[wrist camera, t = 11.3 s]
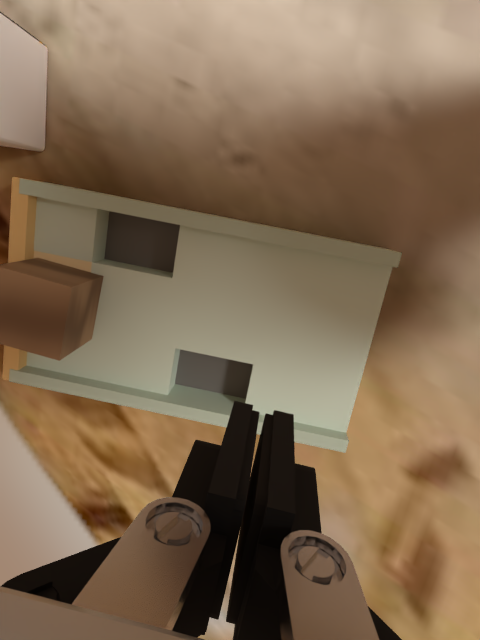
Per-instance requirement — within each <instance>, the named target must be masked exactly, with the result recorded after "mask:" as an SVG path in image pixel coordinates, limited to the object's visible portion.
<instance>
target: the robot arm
mask: <svg viewBox="0 0 480 640" xmlns="http://www.w3.org/2000/svg"><path fill="white" fill-rule="evenodd" d="M252 409H253V405H251V404H247V403H242V402H238V401H234V404H233V407H232V411H231V414H230V418H229V421H228V424H227V428H226V431H225V435H224V438H223V442H222V445H221V446H220V445H216V444H212V443H208V442H204V441H199V440H195V442H194V445H193V447H192V450H191V452H190V455H189V457H188V459H187V462H186V464H185V467H184V469H183V472H182V474H181V476H180V479H179V481H178V484H177V486H176V489H175V491H174V494H173V496H172V497H166V498H162V499H157V500H155V501H153V502H151V503H149V504H148V505H147V506H145V507H144V508H143V509H142V510H141V512H140V513H139V514H138V516H137V517H136V518H135V520H134V521H133V522H132V524H131V525H130V526H129V528H128V529H127V530H126V532H125V533H124V534H123V536H122V537H120V538H117V539H114V540H112V541H109V542H106V543H103V544H101V545H98V546H95V547H93V548H90V549H88V550H85V551H82V552H79V553H77V554H74V555H71V556H69V557H66V558H64V559H61V560H58V561H55V562H52V563H50V564H47V565H44V566H42V567H39V568H36V569H34V570H31V571H28V572H26V573H23V574H21V575H19V576H17V577H15V578H13V579H11V580H9V581H7V582H6V583H4V584H3V585H2V586H0V640H204V639H200V638H197V637H198V636H200V635H205V632H206V630H207V626H208V621H209V617H211V618H214V619H219V615H220V611H221V606H222V602H223V598H224V594H225V590H226V585H227V581H228V577H229V573H230V569H231V564H232V560H233V556H234V552H235V548H236V543H237V539H238V535H239V540H238V547H237V553H236V560H235V566H234V573H233V579H232V586H231V592H230V598H229V605H228V611H227V618H226V622H229V623H233V624H235V629H234V636H233V640H402V639H401V638H400V637H399V636H398V635H397V634H396V633H395V632H394V631H393V630H392V629H391V628H390V627H389V626H387V625H386V624H385V623H384V622H383V621H382V620H381V619H380V618H379V617H378V616H377V615H376V614H375V613H374V612H373V611H372V610H371V609H370V608H369V607H368V606H367V603H366V600H365V597H364V594H363V591H362V588H361V585H360V583H359V580H358V577H357V574H356V571H355V568H354V565H353V563H352V561H351V559H350V557H349V555H348V553H347V552H346V551H345V550H344V549H343V548H342V547H341V545H339V544H338V543H337V542H335V541H334V540H333V539H331V538H330V537H328V536H326V535H324V534H321V524H320V514H319V503H318V493H317V483H316V473H315V469H314V468H312V467H308V466H304V465H299V464H295V457H294V414H289V413H285V412H281V411H277V410H274V412H273V415H271V414H267V413H266V414H265V417H264V422H263V426H262V430H261V434H260V438H259V443H258V447H257V451H256V455H255V460H254V464H253V468H252V472H251V467H252V460H253V454H254V447H255V440H256V433H257V427H258V420H259V413H260V412H258V411H254V410H252ZM250 474H251V477H250ZM249 480H250V481H249ZM240 527H241V528H240ZM239 531H240V534H239Z"/></svg>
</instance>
